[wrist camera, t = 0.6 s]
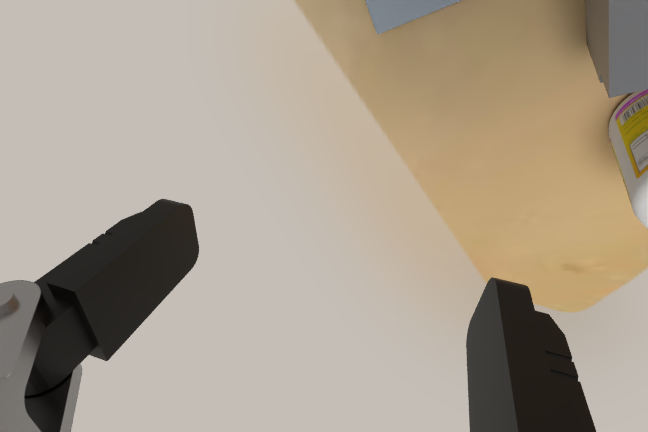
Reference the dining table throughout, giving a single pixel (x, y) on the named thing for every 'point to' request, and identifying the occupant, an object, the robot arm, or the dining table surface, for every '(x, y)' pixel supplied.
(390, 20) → the rubber mat
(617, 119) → the supplement bottle
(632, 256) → the dining table surface
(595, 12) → the dispenser
